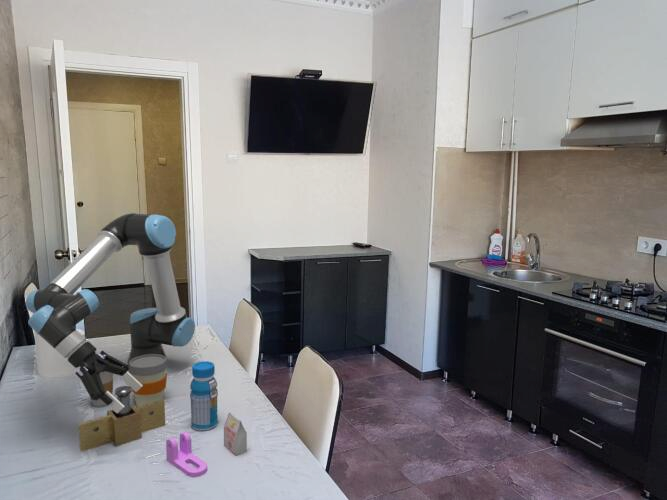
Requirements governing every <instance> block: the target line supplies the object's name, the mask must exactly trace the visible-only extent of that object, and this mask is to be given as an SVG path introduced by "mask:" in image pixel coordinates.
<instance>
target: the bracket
mask: <svg viewBox="0 0 667 500" xmlns="http://www.w3.org/2000/svg"><path fill="white" fill-rule="evenodd" d="M178 438H179V444H178V441H177V439H176V438H175V437H171V438H168V439H166V442H165V446H166V447H165V450H166V451H165V452H166V454H165V455H166V461H167V462H168V463H170V464H171V465H173V466H174V467H176V468H177V469H178V470H179V471H181V472H182V473H184V474H185V475H187V477H191V478H199V477H201V476H204V475H205V474H206V473H207V472H208V463H207V462H206V461H204V460H203V459H202V458H200V457H198V456H197V455H195V454H194V453H193V450H192V438H191V434H190V433H189V432H188V431H184V432H181V433H180V434H179V437H178ZM190 464H191V465H193V466H194V467H193V466H191V465H190ZM195 467H196V468H195Z"/></svg>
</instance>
